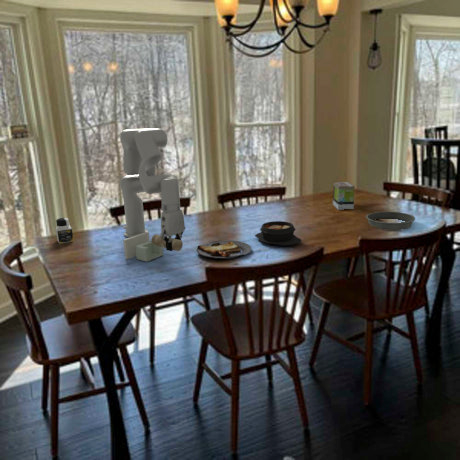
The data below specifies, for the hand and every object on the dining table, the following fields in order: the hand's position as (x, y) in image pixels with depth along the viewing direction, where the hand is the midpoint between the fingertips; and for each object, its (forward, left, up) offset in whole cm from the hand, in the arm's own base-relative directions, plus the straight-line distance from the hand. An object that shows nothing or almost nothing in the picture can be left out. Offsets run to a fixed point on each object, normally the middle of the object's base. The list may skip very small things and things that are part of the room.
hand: (173, 248), depth 192 cm
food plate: (+9, +23, -8) cm, 26 cm away
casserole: (+22, +49, -7) cm, 54 cm away
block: (-15, 0, -7) cm, 17 cm away
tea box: (+21, +129, -7) cm, 131 cm away
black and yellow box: (-73, -5, -7) cm, 73 cm away
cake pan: (+58, +104, -8) cm, 119 cm away
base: (-23, 0, -7) cm, 24 cm away
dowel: (-4, 0, -1) cm, 4 cm away
